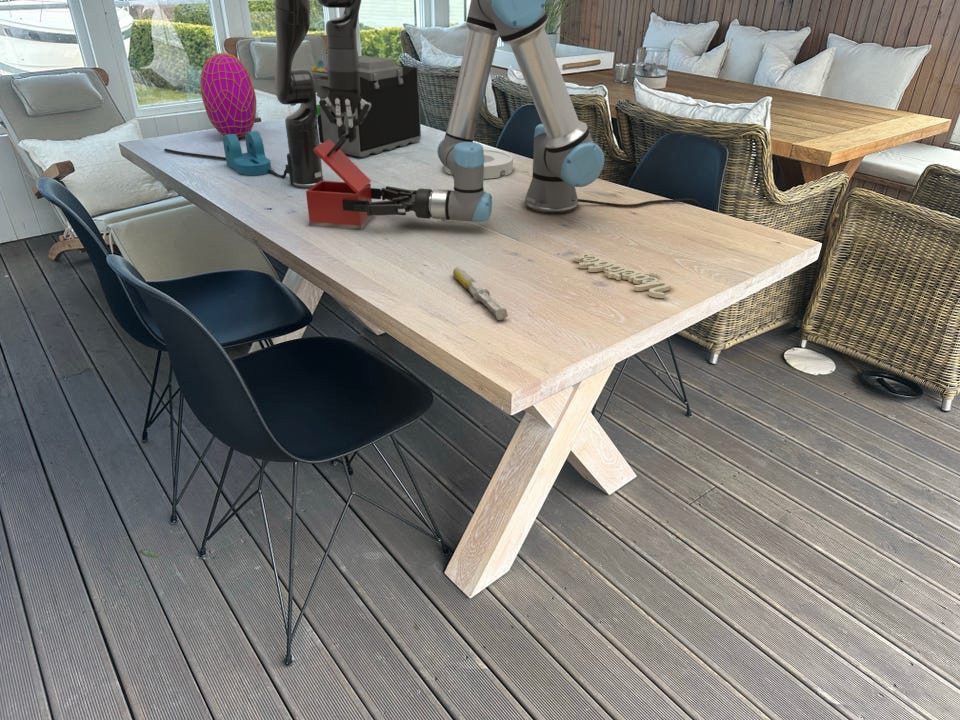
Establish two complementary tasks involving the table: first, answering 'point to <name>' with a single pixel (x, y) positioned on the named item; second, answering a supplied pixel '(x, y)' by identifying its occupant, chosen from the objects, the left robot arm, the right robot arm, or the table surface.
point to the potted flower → (322, 69)
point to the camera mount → (246, 154)
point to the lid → (342, 163)
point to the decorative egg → (228, 95)
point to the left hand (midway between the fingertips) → (347, 141)
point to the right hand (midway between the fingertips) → (350, 198)
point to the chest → (336, 205)
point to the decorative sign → (625, 274)
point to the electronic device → (377, 108)
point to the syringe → (479, 293)
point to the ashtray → (494, 164)
